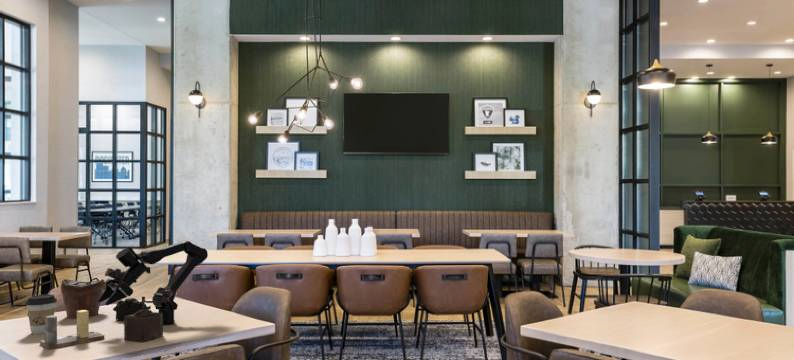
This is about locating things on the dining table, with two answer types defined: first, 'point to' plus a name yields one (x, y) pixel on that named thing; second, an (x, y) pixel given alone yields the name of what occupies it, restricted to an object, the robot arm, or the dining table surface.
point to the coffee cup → (40, 311)
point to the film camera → (128, 308)
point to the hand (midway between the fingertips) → (102, 303)
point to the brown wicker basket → (82, 296)
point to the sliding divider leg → (82, 323)
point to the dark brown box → (145, 322)
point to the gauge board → (54, 342)
